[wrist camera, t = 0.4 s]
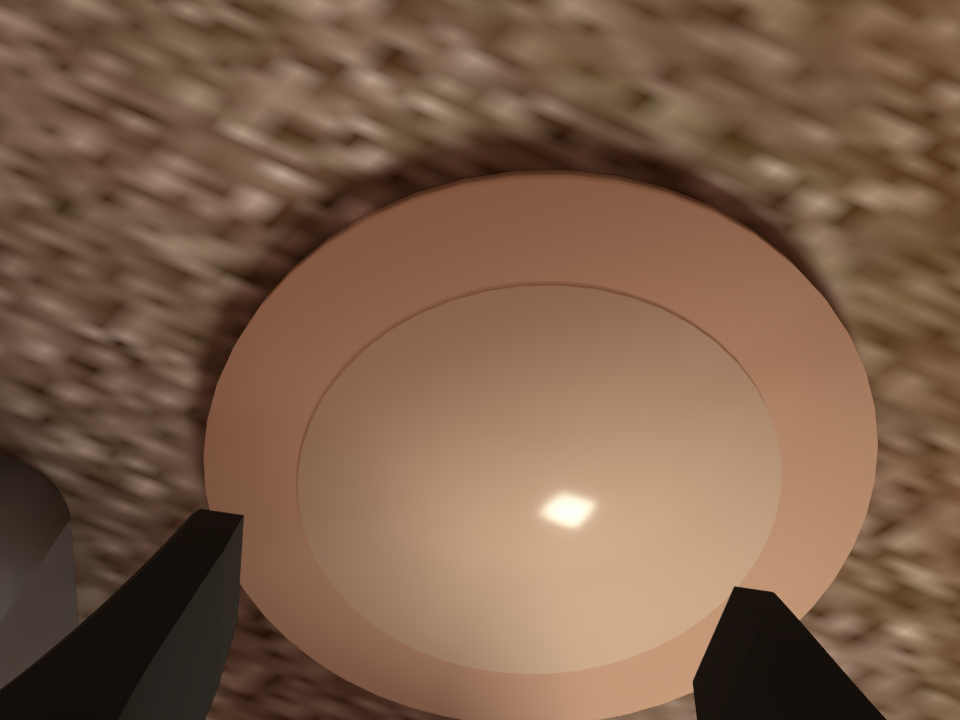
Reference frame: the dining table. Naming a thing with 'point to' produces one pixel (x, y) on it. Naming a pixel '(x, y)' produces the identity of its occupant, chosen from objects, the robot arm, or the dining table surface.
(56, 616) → the connector
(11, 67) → the dining table surface
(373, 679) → the plate
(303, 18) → the dining table surface
